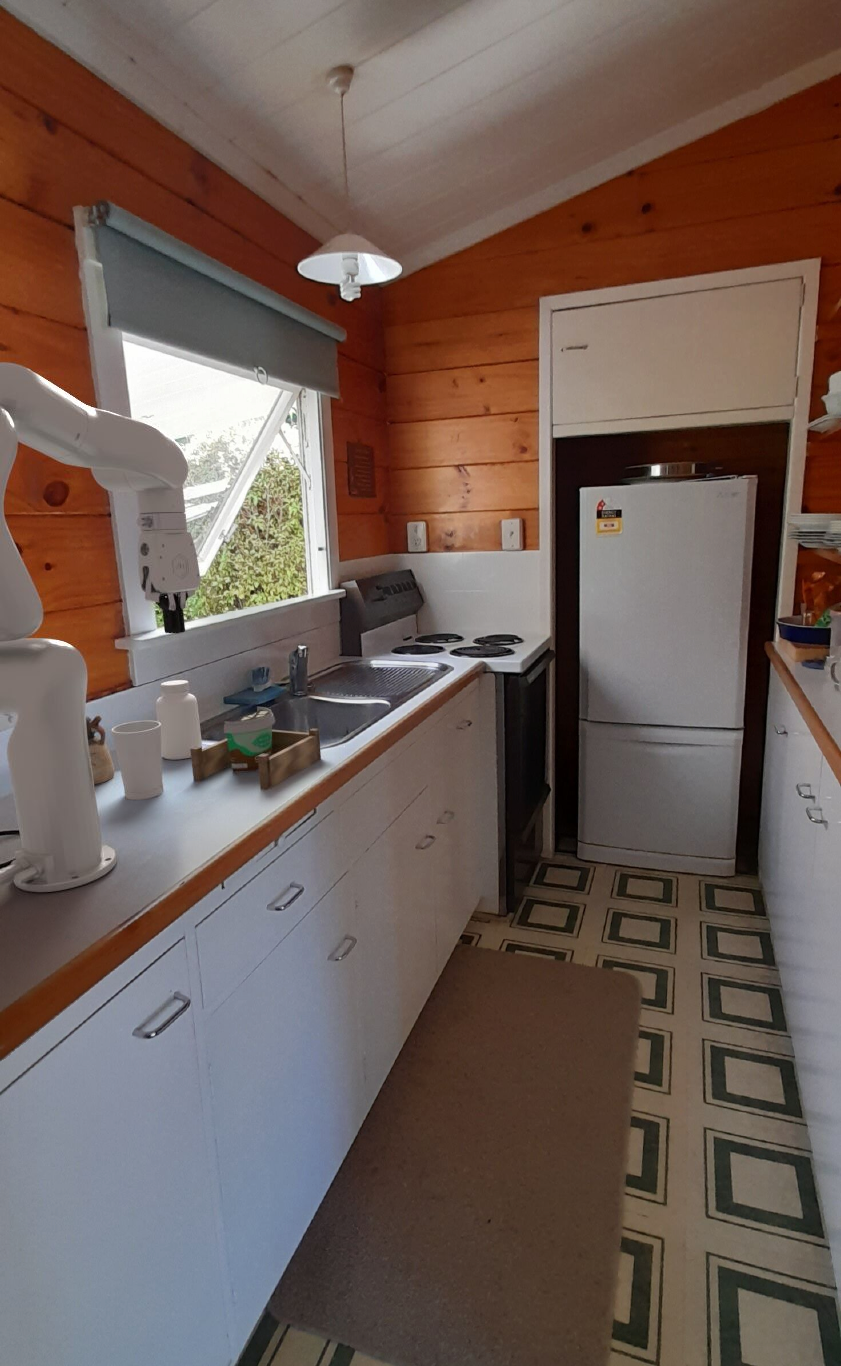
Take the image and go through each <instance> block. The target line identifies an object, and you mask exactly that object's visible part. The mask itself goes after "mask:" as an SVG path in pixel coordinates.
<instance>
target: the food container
mask: <svg viewBox="0 0 841 1366" xmlns="http://www.w3.org/2000/svg"><path fill="white" fill-rule="evenodd" d="M275 723H276V718H275V716H274V712H272V709H270V708H268V707H264V706H257V707H256V711H255V712H254V713H251V714H247V715H246V714H245V715H243V716H241V717H239V719H237V720H236V721H224V725H223V733H224V734H226V738H227V741H228V747H229V753H230V759H231V765H230V766H231V770H232V772H233V773H246V772H255V771H259V766H258V755H260V754H269V757H270V756H272V730H273V726H274V725H275Z"/></svg>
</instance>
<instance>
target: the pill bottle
mask: <svg viewBox="0 0 841 1366" xmlns="http://www.w3.org/2000/svg"><path fill="white" fill-rule="evenodd" d="M189 684H190V683H189V681H188V680H183V679H180V680H179V679H177V680H168V681H164V682H162V683H161V684H160V691H161V692H160V695H162V696H159V698H157V700H156V701H155V711H156V721H157V722H160V723H161V757H163V759H166V760H174V761H175V760H176V761H177V760H185V759H189V758H190V759H191V751H190V749H191V748H193V747H195V746H196V747H202V748H203V742H202V735H201V734H202V733H201V725H200V716H199V707H198V699H197V697H196V696H195V695H194V694H192V693H191V692H190V693H189V691H190V690H189V689H190V685H189Z"/></svg>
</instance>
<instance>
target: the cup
mask: <svg viewBox="0 0 841 1366" xmlns="http://www.w3.org/2000/svg"><path fill="white" fill-rule="evenodd" d="M111 735H112V739H113V745H114V747H115V751H116V757H117V761H118V766H119V770H120V775H121V780H122V784H123V789H124V796H125V798H126V799H128V800H133V801H138V800H139V801H140V800H146V799H147V800H148V799H152V798H155V797H157V796H159V795H160V796H161V795H162V794H163V793H164V784H163V766H162V765H163V763H162V761H163V760H162V753H161V723H160V722H158V721H157V720H136V721H130V722H125V723H121V724H118V725H115V726H114V727H112V728H111Z"/></svg>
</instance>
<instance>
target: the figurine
mask: <svg viewBox="0 0 841 1366" xmlns="http://www.w3.org/2000/svg"><path fill="white" fill-rule="evenodd" d="M101 720H102V717H101V716H100V715H96V716H95V717H94V718H93V720H92V718H91V717H89V716H88V715H86V728H87V737H88V745H89V753H90V759H91V766H92V773H93V781H94V785H98V784H101V783H104V782H108V781H110V780H112V778H114V775H115V768H114V767H115V766H114V763H113V759H112V757H111V754H110V752H109V748H108V746H107V744H106V743H105V741H106V732H105V731H106V730H105V729H104V728H103V726H101V725H99V724H100V723H101ZM96 733H99V735H100V737H98V736H97V735H96V736H95V734H96Z"/></svg>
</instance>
